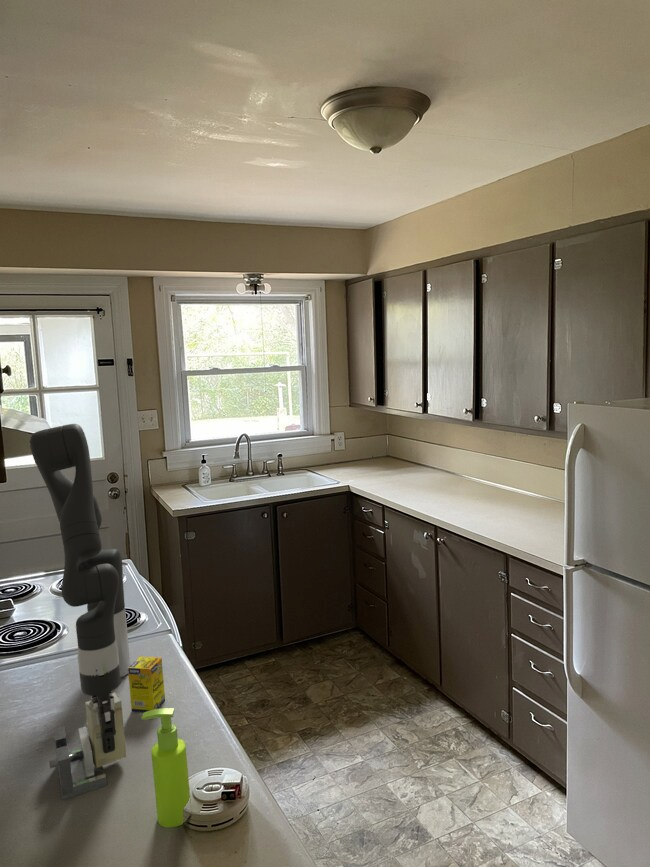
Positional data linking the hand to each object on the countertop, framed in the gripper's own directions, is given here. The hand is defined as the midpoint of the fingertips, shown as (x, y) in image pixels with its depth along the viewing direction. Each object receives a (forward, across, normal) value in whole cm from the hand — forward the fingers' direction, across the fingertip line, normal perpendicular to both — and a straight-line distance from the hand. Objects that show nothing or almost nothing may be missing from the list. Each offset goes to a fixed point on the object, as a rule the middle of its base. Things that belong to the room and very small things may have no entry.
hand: (107, 744), depth 129 cm
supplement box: (+5, -19, +12) cm, 23 cm away
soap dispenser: (+5, +21, +8) cm, 23 cm away
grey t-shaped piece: (+4, 0, -7) cm, 8 cm away
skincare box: (+3, 0, 0) cm, 3 cm away
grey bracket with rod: (+5, 0, -5) cm, 7 cm away
